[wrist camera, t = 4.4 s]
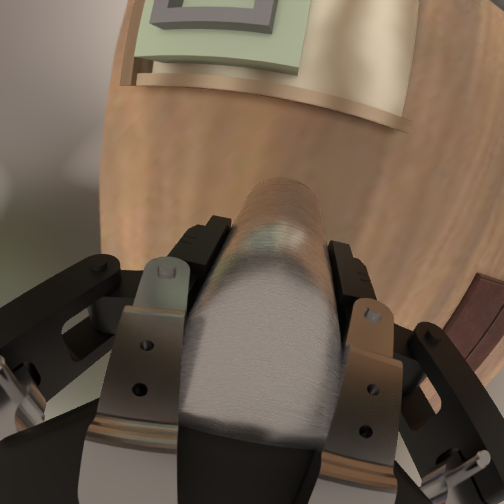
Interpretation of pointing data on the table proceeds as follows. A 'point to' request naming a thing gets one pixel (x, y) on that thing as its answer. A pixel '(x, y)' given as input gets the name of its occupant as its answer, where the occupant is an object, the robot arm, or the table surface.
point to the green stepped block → (225, 33)
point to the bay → (314, 62)
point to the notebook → (478, 320)
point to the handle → (265, 327)
